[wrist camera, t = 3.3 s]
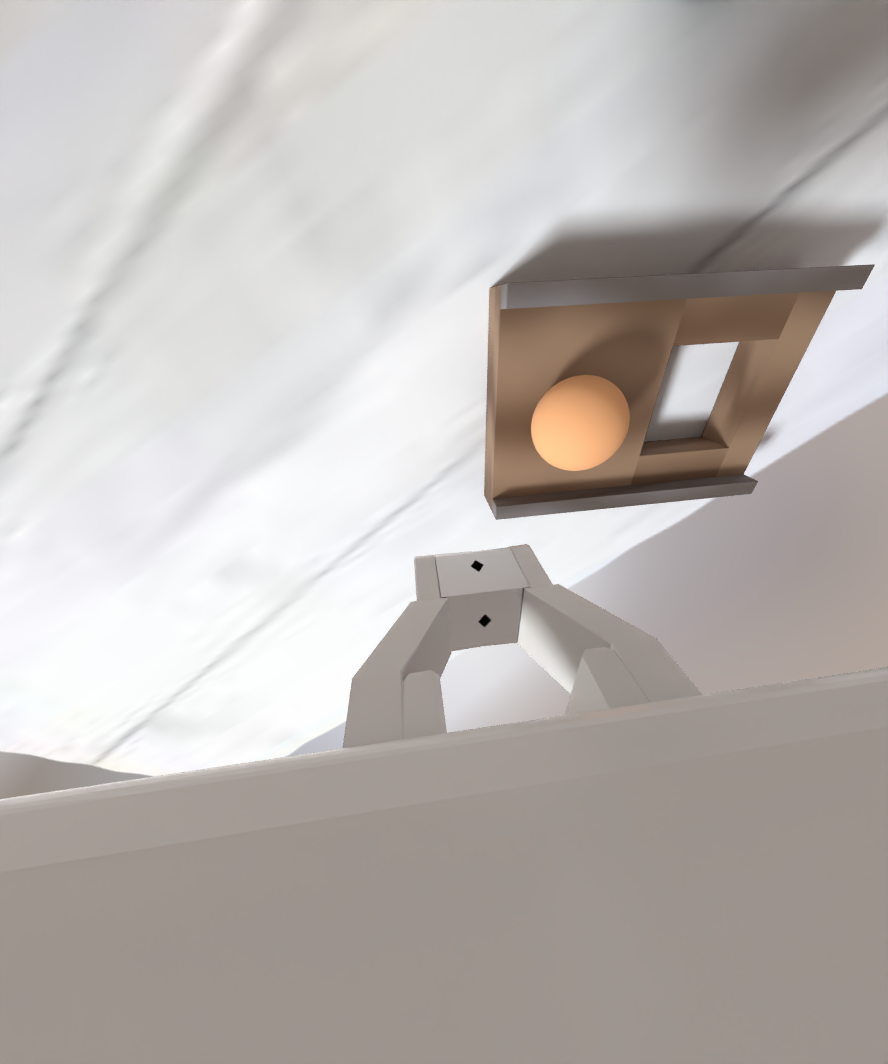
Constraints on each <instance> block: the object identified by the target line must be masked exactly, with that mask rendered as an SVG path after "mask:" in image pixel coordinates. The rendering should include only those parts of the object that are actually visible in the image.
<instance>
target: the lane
mask: <svg viewBox="0 0 888 1064" xmlns="http://www.w3.org/2000/svg"><path fill="white" fill-rule="evenodd" d="M873 267H874V265H855V266H835V267H815V268H795V269H775V270H755V271H735V272H715V273H695V274H675V275H655V276H636V277H616V278H596V279H576V280H556V281H536V282H516V283H506V284H502V285H499V286H495V287H492V288H490V295H489V334H488V372H487V411H486V449H485V488H484V495H485V498H486V500H487V502H488V504H489V506H490V508H491V510H492V512H493V514H494V517H495V519H496V520H497V519H507V518H517V517H527V516H537V515H547V514H556V513H566V512H576V511H586V510H596V509H606V508H615V507H625V506H635V505H645V504H655V503H665V502H675V501H684V500H694V499H704V498H714V497H724V496H734V495H743V494H751V493H752V491H753V490H754V488H755V486H756V484H757V482H758V481H756V480H754V479H752V478H750V477H748V476H746V475H744V472H745V470H746V468H747V466H748V464H749V462H750V460H751V458H752V456H753V454H754V452H755V450H756V448H757V446H758V444H759V442H760V440H761V438H762V436H763V435H764V433H765V431H766V429H767V427H768V425H769V423H770V421H771V419H772V417H773V415H774V413H775V411H776V409H777V407H778V405H779V403H780V401H781V399H782V397H783V395H784V393H785V391H786V389H787V387H788V385H789V383H790V381H791V379H792V377H793V375H794V373H795V371H796V369H797V367H798V365H799V363H800V361H801V359H802V357H803V355H804V353H805V351H806V349H807V347H808V345H809V343H810V342H811V340H812V338H813V336H814V334H815V332H816V330H817V328H818V326H819V324H820V322H821V320H822V318H823V316H824V314H825V312H826V310H827V308H828V306H829V304H830V302H831V300H832V298H833V296H834V294H835V292H836V290H854V289H862V288H863V286H864V284H865V282H866V280H867V278H868V277H869V275H870V273H871V271H872V269H873ZM739 341H740V342H739ZM724 342H739V345H738V347H737V350H736V352H735V355H734V357H733V360H732V362H731V365H730V367H729V370H728V372H727V375H726V377H725V380H724V382H723V385H722V387H721V390H720V392H719V395H718V397H717V400H716V402H715V405H714V407H713V410H712V412H711V415H710V417H709V420H708V422H707V425H706V427H705V430H704V432H703V435H702V437H696V438H684V439H673V440H661V441H650V442H644V439H645V436H646V433H647V429H648V426H649V423H650V419H651V416H652V413H653V410H654V406H655V403H656V400H657V396H658V393H659V390H660V386H661V383H662V380H663V377H664V373H665V370H666V367H667V363H668V360H669V357H670V353H671V350H672V347H673V346H679V345H694V344H709V343H724ZM579 375H593V376H599V377H602V378H604V379H607V380H608V381H610V382H612V383H613V384H614V385H616V386H617V387H618V388H619V389H620V391H621V392H622V393H623V395H624V397H625V398H626V401H627V403H628V407H629V413H630V420H629V427H628V431H627V434H626V437H625V439H624V441H623V443H622V444H621V446H620V447H619V449H618V450H617V451H616V452H615V453H614V454H613V455H612V456H611V457H610V458H609V459H607V460H606V461H605V462H603V463H601V464H599V465H598V466H595V467H593V468H590V469H586V470H580V471H569V470H563V469H560V468H557V467H555V466H553V465H551V464H549V463H548V462H547V461H545V460H544V459H543V458H542V457H541V455H540V454H539V453H538V451H537V450H536V448H535V446H534V443H533V440H532V435H531V422H532V417H533V413H534V411H535V408H536V406H537V404H538V403H539V401H540V400H541V398H542V397H543V396H544V394H545V393H546V392H547V391H548V390H549V389H550V388H552V387H553V386H554V385H556V384H557V383H559V382H561V381H563V380H565V379H567V378H570V377H573V376H579Z"/></svg>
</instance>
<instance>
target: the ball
mask: <svg viewBox="0 0 888 1064" xmlns="http://www.w3.org/2000/svg"><path fill="white" fill-rule="evenodd" d="M629 420H630V413H629V407H628V403H627V401H626V398H625V397H624V395H623V393H622V392H621V391H620V389H619V388H618V387H617V386H616V385H614V384H613V383H612V382H610V381H608V380H607V379H604V378H602V377H599V376H593V375H579V376H573V377H570V378H567V379H565V380H563V381H561V382H559V383H557V384H556V385H554V386H553V387H552V388H550V389H549V390H548V391H547V392H546V393H545V394H544V396H543V397H542V398H541V400H540V401H539V403H538V404H537V406H536V408H535V411H534V413H533V417H532V422H531V435H532V440H533V443H534V446H535V448H536V450H537V451H538V453H539V454H540V455H541V457H542V458H543V459H544V460H545V461H547V462H548V463H549V464H551V465H553V466H555V467H557V468H560V469H563V470H569V471H580V470H586V469H590V468H593V467H595V466H598V465H599V464H601V463H603V462H605V461H606V460H607V459H609V458H610V457H611V456H612V455H613V454H614V453H615V452H616V451H617V450H618V449H619V447H620V446H621V444H622V443H623V441H624V439H625V437H626V434H627V431H628V427H629Z"/></svg>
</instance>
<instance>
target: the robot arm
mask: <svg viewBox="0 0 888 1064" xmlns="http://www.w3.org/2000/svg"><path fill="white" fill-rule="evenodd" d="M414 565H415V580H416V596H417V601H414V602H410V604H409V605H408V606H407V608H406V609H405V610H404V612H403V613H402V614H401V616H400V617H399V618H398V619H397V621H396V622H395V623H394V625H393V626H392V627H391V629H390V630H389V631H388V633H387V634H386V635H385V637H384V638H383V639H382V640H381V642H380V643H379V644H378V646H377V647H376V648H375V650H374V651H373V652H372V654H371V655H370V656H369V657H368V659H367V660H366V661H365V663H364V664H363V665H362V667H361V668H360V669H359V671H358V672H357V673H356V675H355V676H354V677H353V678H352V684H351V691H350V699H349V706H348V713H347V721H346V728H345V736H344V743H343V749H336V750H330V751H323V752H316V753H310V754H302V755H296V756H289V757H282V758H276V759H269V760H262V761H255V762H249V763H242V764H235V765H229V766H222V767H215V768H208V769H202V770H195V771H188V772H182V773H175V774H168V775H161V776H155V777H148V778H141V779H134V780H128V781H121V782H114V783H107V784H101V785H94V786H88V787H81V788H74V789H67V790H60V791H53V792H47V793H40V794H33V795H26V796H20V797H13V798H7V799H0V1064H888V667H886V668H878V669H871V670H865V671H858V672H851V673H844V674H838V675H832V676H824V677H818V678H811V679H805V680H798V681H791V682H784V683H777V684H772V685H764V686H758V687H751V688H745V689H737V690H731V691H724V692H717V693H711V694H705V695H702V694H701V692H700V691H699V690H698V689H697V687H696V686H695V685H694V684H693V683H692V681H691V680H690V679H689V678H688V677H687V675H686V674H685V673H684V672H683V670H682V669H681V668H680V667H679V665H678V664H677V663H676V662H675V661H674V659H673V658H672V657H671V655H670V654H669V653H668V652H667V650H666V649H665V648H664V647H663V646H662V644H661V643H660V642H659V641H658V639H657V638H654V637H653V636H651V635H649V634H648V633H646V632H644V631H642V630H640V629H638V628H637V627H635V626H633V625H631V624H630V623H628V622H626V621H624V620H622V619H621V618H619V617H617V616H615V615H613V614H611V613H610V612H608V611H606V610H604V609H602V608H601V607H599V606H597V605H595V604H593V603H591V602H590V601H588V600H586V599H584V598H583V597H581V596H579V595H577V594H575V593H573V592H572V591H570V590H568V589H566V588H565V587H563V586H561V585H559V584H556V585H553V584H552V583H551V581H550V579H549V578H548V576H547V574H546V573H545V571H544V569H543V567H542V566H541V564H540V562H539V561H538V559H537V557H536V556H535V554H534V552H533V551H532V549H531V547H530V546H529V545H527V544H525V545H518V546H511V547H508V548H500V549H491V550H482V551H474V552H472V551H471V552H460V553H448V554H437V555H428V556H418V557H415V559H414ZM508 643H518V645H519V646H520V647H521V648H522V649H523V650H524V651H526V652H527V653H528V654H529V655H530V656H531V657H532V658H533V659H534V660H535V661H536V662H537V663H538V664H539V665H540V666H541V667H543V668H544V669H545V670H546V671H547V672H548V673H549V674H550V675H551V676H552V677H553V678H554V679H555V680H556V681H557V682H559V683H560V684H561V685H562V686H563V687H564V688H565V689H566V690H567V691H568V692H569V693H570V694H571V696H570V699H569V702H568V705H567V709H566V712H565V715H563V716H556V717H550V718H543V719H537V720H530V721H523V722H517V723H510V724H503V725H497V726H490V727H484V728H477V729H470V730H463V731H458V732H450V733H447V732H446V724H445V716H444V708H443V700H442V692H441V684H440V677H441V675H442V673H443V671H444V668H445V666H446V664H447V662H448V659H449V657H450V655H451V651H456V650H462V649H468V648H474V647H480V646H488V645H498V644H508Z"/></svg>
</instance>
